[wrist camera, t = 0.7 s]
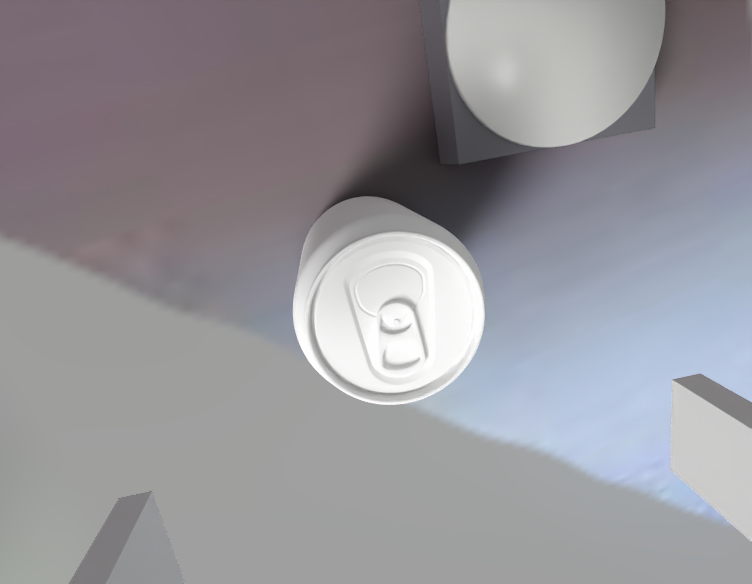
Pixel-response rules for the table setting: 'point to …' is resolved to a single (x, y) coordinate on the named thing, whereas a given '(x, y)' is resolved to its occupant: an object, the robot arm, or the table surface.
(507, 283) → the table surface
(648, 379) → the table surface
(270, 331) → the table surface
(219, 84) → the table surface
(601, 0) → the grey hot plate stirrer
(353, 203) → the beverage can
